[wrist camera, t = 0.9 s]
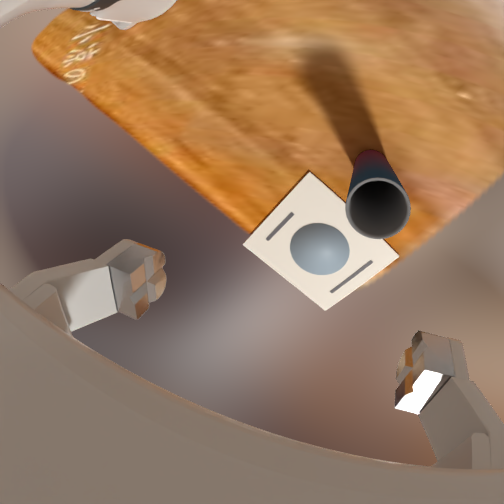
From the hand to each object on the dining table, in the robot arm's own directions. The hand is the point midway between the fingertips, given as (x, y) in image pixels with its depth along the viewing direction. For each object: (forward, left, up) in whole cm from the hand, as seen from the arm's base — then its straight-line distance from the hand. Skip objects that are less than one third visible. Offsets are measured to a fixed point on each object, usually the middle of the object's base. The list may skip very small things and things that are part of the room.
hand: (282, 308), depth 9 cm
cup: (+8, -2, -38) cm, 38 cm away
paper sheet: (+12, -18, -37) cm, 43 cm away
